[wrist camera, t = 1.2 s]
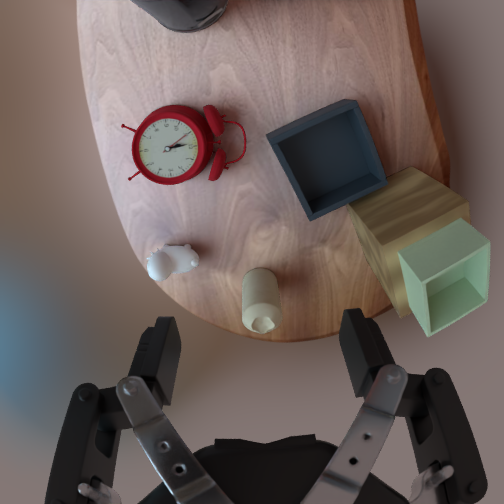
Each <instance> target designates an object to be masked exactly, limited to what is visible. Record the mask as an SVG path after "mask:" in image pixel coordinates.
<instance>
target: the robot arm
mask: <svg viewBox="0 0 504 504" xmlns="http://www.w3.org/2000/svg"><path fill="white" fill-rule="evenodd" d="M130 1H132V2H133V3H135V4H136V5H137V6H139V7H140V8H142V9H143V10H144V11H146V12H147V13H149V14H150V15H151V16H153V17H154V18H155V19H156V20H158V22H159V23H160V24H162V25H163V26H164V27H166V28H167V29H169V30H172V31H176V32H183V33H187V32H195V31H199V30H202V29H204V28H206V27H208V26H210V25H212V24H213V23H214V22H216V21H217V20H218V19H219V18H220V17H221V16H222V14H223V13H224V11H225V9H226V6H227V3H228V0H130ZM339 341H340V346H341V349H342V352H343V355H344V358H345V362H346V365H347V369H348V372H349V375H350V379H351V382H352V386H353V389H354V393H355V396H356V398H357V397H364V403H363V405H362V407H361V408H360V410H359V412H358V414H357V416H356V418H355V420H354V421H353V423H352V425H351V427H350V429H349V430H348V432H347V434H346V436H345V437H344V439H343V441H342V443H341V444H340V446H339V447H337V446H336V445H334V444H331V443H329V442H325V441H321V440H316V438H315V434H310V435H302V436H291V437H288V438H284V439H281V440H278V441H274V442H271V443H266V444H263V443H257V442H252V441H247V440H242V439H215V444H214V445H210V446H207V447H204V448H202V449H200V450H198V451H196V452H194V453H193V454H192V452H191V451H190V450H189V448H188V447H187V446H186V444H185V443H184V441H183V440H182V439H181V437H180V436H179V435H178V433H177V432H176V430H175V429H174V427H173V426H172V424H171V423H170V421H169V420H168V418H167V417H166V415H165V414H164V413H163V411H162V407H163V405H171V398H172V393H173V388H174V383H175V378H176V373H177V368H178V363H179V358H180V353H181V339H180V335H179V331H178V328H177V325H176V321H175V318H174V317H158V318H157V320H156V324H155V327H148V328H147V329H146V330H145V332H144V333H143V334H142V336H141V338H140V341H139V345H138V347H137V351H136V353H135V356H134V359H133V362H132V365H131V368H130V371H129V374H128V376H127V377H125V378H123V379H122V380H120V382H119V383H118V384H117V386H115V387H111V388H105V389H98V388H97V387H96V386H95V385H94V384H92V383H84V384H81V385H79V386H78V387H77V388H76V389H75V391H74V392H73V395H72V398H71V401H70V404H69V407H68V410H67V413H66V417H65V420H64V423H63V426H62V430H61V433H60V437H59V440H58V444H57V448H56V452H55V456H54V460H53V464H52V468H51V473H50V477H49V482H48V487H47V492H46V497H45V504H121V498H120V496H119V494H118V493H117V492H116V491H115V490H113V489H112V486H113V479H114V471H115V465H116V458H117V452H118V446H119V441H120V435H121V430H122V429H129V428H133V431H134V433H135V435H136V437H137V439H138V440H139V443H140V444H141V446H142V448H143V450H144V451H145V453H146V454H147V456H148V458H149V460H150V461H151V463H152V465H153V466H154V468H155V469H156V471H157V472H158V474H159V476H160V477H161V479H162V480H163V482H162V483H161V484H160V485H159V486H157V487H156V488H155V489H154V490H153V491H152V492H151V493H149V494H148V495H147V496H146V497H145V498H144V499H143V500H141V501H140V502H139V503H138V504H474V503H476V502H478V501H479V500H481V499H482V498H483V497H484V495H485V493H486V491H487V486H488V483H487V479H486V475H485V471H484V468H483V464H482V461H481V458H480V454H479V451H478V448H477V445H476V442H475V439H474V436H473V433H472V430H471V427H470V425H469V422H468V419H467V417H466V414H465V411H464V409H463V406H462V404H461V401H460V399H459V396H458V394H457V391H456V389H455V387H454V385H453V382H452V380H451V378H450V376H449V374H448V373H447V372H446V371H444V370H443V369H441V368H432V369H429V370H428V371H427V372H426V374H425V375H417V374H409V373H407V372H406V371H405V370H404V369H403V368H402V367H400V366H399V365H396V364H395V361H394V359H393V357H392V355H391V352H390V350H389V348H388V346H387V343H386V341H385V340H384V337H383V335H382V334H381V330H380V328H379V326H378V324H377V323H376V322H375V321H374V320H373V319H372V318H365V317H364V315H363V313H362V310H361V309H360V308H355V309H345V310H344V312H343V317H342V322H341V327H340V332H339ZM395 416H399V417H405V419H406V423H407V426H408V430H409V433H410V438H411V442H412V446H413V450H414V453H415V458H416V462H417V467H418V471H419V475H418V476H417V477H416V478H415V479H414V481H413V483H412V494H411V497H410V499H409V500H407V499H406V498H405V497H404V496H403V495H401V494H400V493H398V492H397V491H395V490H394V489H393V488H391V487H390V486H388V485H387V484H385V483H384V482H383V481H382V480H380V479H379V478H378V477H376V476H375V475H373V474H372V473H371V472H370V471H371V469H372V467H373V465H374V463H375V461H376V459H377V457H378V455H379V453H380V451H381V449H382V447H383V445H384V442H385V440H386V438H387V436H388V434H389V431H390V429H391V427H392V425H393V422H394V420H395Z"/></svg>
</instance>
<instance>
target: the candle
mask: <svg viewBox="0 0 504 504" xmlns="http://www.w3.org/2000/svg"><path fill="white" fill-rule="evenodd" d="M282 318H283V317H282V309H281V303H280V296H279V289H278V283H277V279H276V276H275V275H274V274H273V273H272V272H271V271H270V270H267V269H264V268H257V269H253V270H251V271H249V272H248V273H247V274H246V275H245V277H244V279H243V285H242V321H243V324H244V325H245V327H247V328H248V329H249V330H251V331H254V332H257V333H260V334H264V333H266V332H269V331H272V330H274V329H275V328H277V327H278V326H279V325H280V324H281V322H282Z"/></svg>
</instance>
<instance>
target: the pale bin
mask: <svg viewBox="0 0 504 504" xmlns="http://www.w3.org/2000/svg"><path fill="white" fill-rule="evenodd" d="M398 256H399V260H400V264H401V269H402V273H403V277H404V282H405V287H406V292H407V297H408V302H409V307H410V308H411V310H412V312H413V313H414V315H415V317H416V318H417V320H418V322H419V323H420V325H421V327H422V328H423V330H424V332H425V333H426V335H427V337H429V336H431V335H433V334H435V333H437V332H438V331H440V330H442V329H444V328H445V327H447V326H449V325H451V324H452V323H454V322H456V321H457V320H459V319H461V318H462V317H464V316H466V315H467V314H469V313H470V312H472V311H473V310H475V309H477V308H478V307H480V306H481V305H483V304H484V303H486V302H487V301H488V290H489V273H490V241H489V240H488V239H486V238H485V237H484V236H483V235H482V234H480V233H479V232H478V231H477V230H476V229H475V228H473V227H472V226H471V225H470V224H469V223H467V222H466V221H465V220H463V219H462V218H459V219H458V220H456V221H454V222H452V223H450V224H449V225H447V226H445V227H443V228H441V229H439V230H438V231H436V232H434V233H432V234H430V235H428V236H426V237H424V238H423V239H421V240H419V241H417V242H415V243H413V244H411V245H409V246H407V247H405V248H403V249H401V250H399V251H398Z"/></svg>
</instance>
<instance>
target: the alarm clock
mask: <svg viewBox="0 0 504 504" xmlns="http://www.w3.org/2000/svg"><path fill="white" fill-rule="evenodd" d="M203 110H204V113H205V116H206V119H207V121H208V122H207V121H206V120H205V118H204V117H203V116H202V115H201V114H200V113H198V112H197V111H195V110H194V109H191V108H189V107H186V106H181V105H170V106H165V107H162V108H159V109H157V110H155V111H154V112H152V113H151V114H149V115H148V116H147V117H146V118H145V120H144V121H143V122H142V123H141V125H140V126H139V127H138V129H137V130H135V129H132V128H129V127H127V126H125V125H124V124H122V126H121V127H122V128H123V127H125V128H127V129H129V130H131V131H133V132H135V135H134V138H133V142H132V156H133V160H134V162H135V165H136V166H137V168H138V170H139V171H138V172H137V173H135V174H134V175H133V176H132V177H129V178H128V180H129V181H130V180H131V179H132V178H133V177H135V176H136V175H138V174H139V173H142V174H143V175H144V176H145V177H146V178H147V179H149V180H151V181H153V182H155V183H158V184H163V185H174V184H179V183H182V182H184V181H186V180H189V179H191V178H193V177H195V176H196V175H198V174H199V173H200V172H201V171H202V170H203V169H204V168H205V167H206V165H207V164H208V162H209V160H210V158H211V155H212V152H214V151H213V147H214V143H218V144H221V140H218V141H216V142H214V139H213V133H214V135H215V136H216V137H218V136H220V135H222V134H223V132H224V123H223V122H226V123H234V124H236V125H238V126H239V127H240V128H241V129H242V131H243V135H244V150H243V153H242V155H241V156H240V157H239V158H238V159H237V160H234V161H230V162H227V163H225V161H226V153H225V151H224V150H222V149H220V148H218V149H217V152H214V153H216V155H215V158H214V161H213V165H212V168H211V171H210V175H209V179H208V180H211V181H215V180H217V179H218V178H219V177H220V175H221V173H222V171H223V169H228V168H229V167H226V165H227V164H230V163H234V162H237V161H239V160H240V159H241V158H242V157H243V156H244V154H245V151H246V134H245V131H244V129H243V127H242V126H241V125H240V124H239V123H237V122H234V121H225V120H223V119H222V118H223V117H226V115H225V114H224V115H222V116H221V115H220V113H219V112H218V110H217V109H216V108H215V107H214V106H213V105H206V106H204V107H203ZM208 123H209V124H208ZM209 125H210V126H209ZM211 129H212V130H211ZM212 131H213V132H212Z"/></svg>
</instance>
